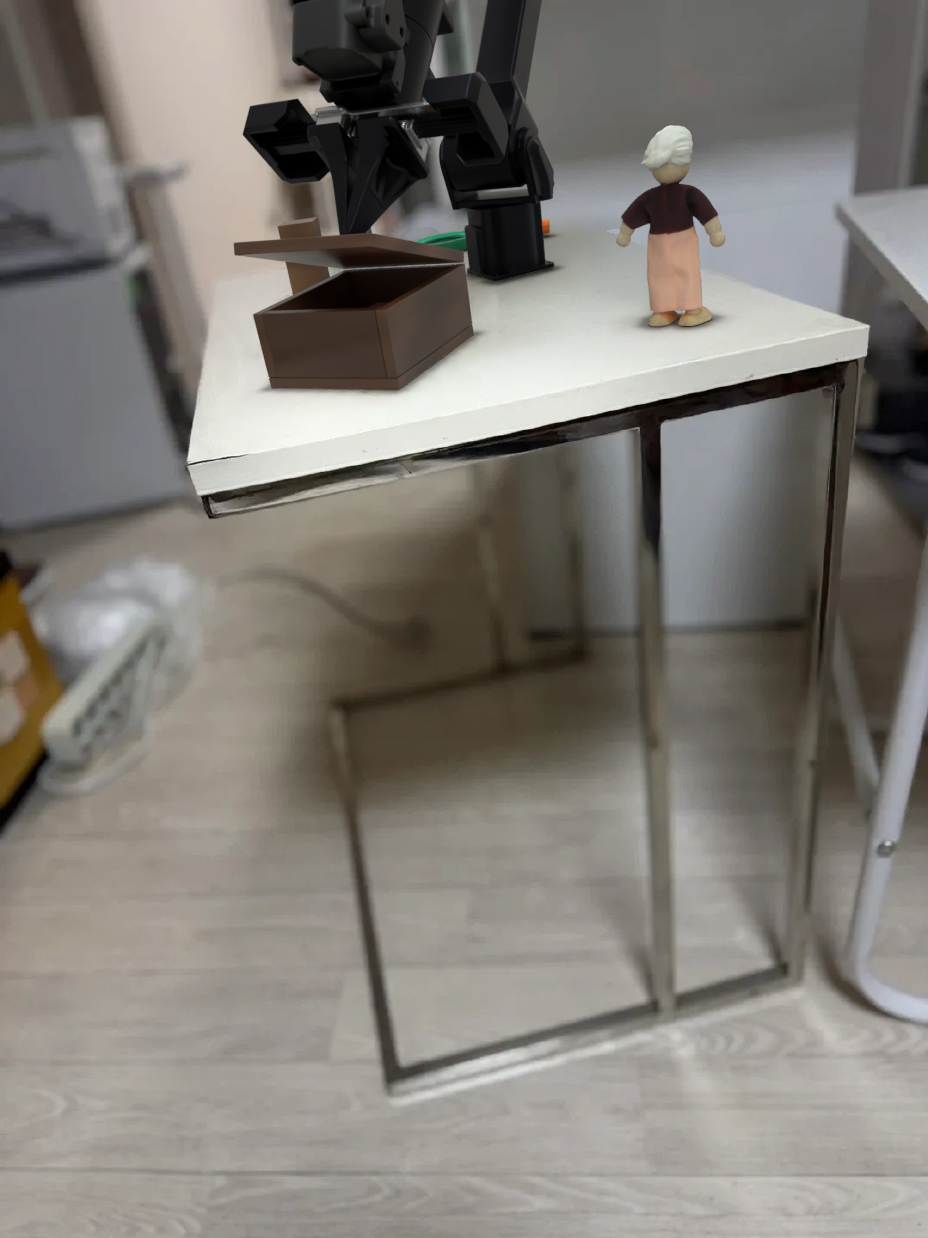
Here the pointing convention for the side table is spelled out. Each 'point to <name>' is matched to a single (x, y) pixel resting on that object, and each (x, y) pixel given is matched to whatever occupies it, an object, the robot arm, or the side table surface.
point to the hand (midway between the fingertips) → (347, 239)
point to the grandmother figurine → (672, 230)
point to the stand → (297, 272)
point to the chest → (366, 328)
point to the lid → (349, 251)
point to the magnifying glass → (461, 238)
